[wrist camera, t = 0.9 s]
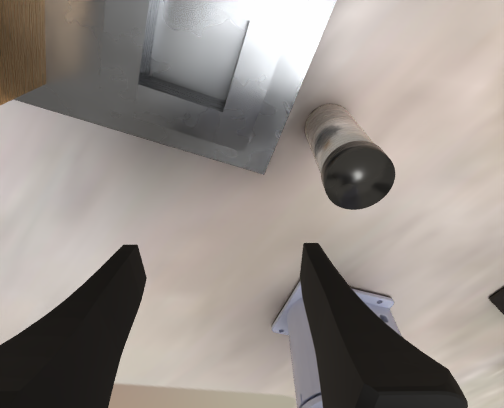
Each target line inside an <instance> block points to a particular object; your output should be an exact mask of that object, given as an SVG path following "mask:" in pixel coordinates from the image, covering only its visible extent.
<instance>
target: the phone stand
mask: <svg viewBox="0 0 504 408" xmlns="http://www.w3.org/2000/svg"><path fill="white" fill-rule="evenodd" d="M489 299H490V301H491V302H492V303H493V304H494V305H495V306H496V307H497V308H498V309H499V310H500V311H501V312H502V313H503V314H504V288H503V289H501V290H500V291H498V292H497V293H495V294H494V295H493V296H491V297H490V298H489Z"/></svg>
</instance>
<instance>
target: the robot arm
mask: <svg viewBox="0 0 504 408" xmlns="http://www.w3.org/2000/svg"><path fill="white" fill-rule="evenodd" d="M145 283H146V274H145V270H144V267H143V263H142V259H141V256H140V252H139V248H138V245H123V246H122V247H121V248H120V249H119V250H118V251H117V252H116V253H115V254H114V255H113V256H112V257H111V258H110V259H109V260H108V261H107V262H106V263H105V264H104V265H103V266H102V267H101V268H100V269H99V270H98V271H97V272H96V273H95V274H93V275H92V276H91V277H90V278H89V279H88V280H87V281H86V282H85V283H84V284H83V285H82V286H81V287H79V288H78V289H77V290H76V291H75V292H74V293H73V294H72V295H70V296H69V297H68V298H67V299H66V300H65V301H63V302H62V303H61V304H60V305H58V306H57V307H56V308H54V309H53V310H52V311H51V312H49V313H48V314H47V315H45V316H44V317H42V318H41V319H40V320H38V321H37V322H35V323H34V324H32V325H31V326H29V327H28V328H26V329H25V330H23V331H22V332H21V333H19V334H18V335H16V336H14V337H13V338H11V339H10V340H8V341H6V342H5V343H3V344H1V345H0V408H108V405H109V401H110V396H111V392H112V389H113V385H114V381H115V377H116V373H117V369H118V365H119V362H120V358H121V355H122V352H123V349H124V346H125V343H126V341H127V338H128V335H129V333H130V330H131V327H132V325H133V322H134V319H135V317H136V314H137V311H138V308H139V306H140V303H141V300H142V296H143V292H144V287H145ZM393 304H394V301H393V299H392V298H389V297H385V296H381V295H376V294H372V293H368V292H364V291H360V290H356V289H352V288H351V287H350V286H349V285H348V284H347V282H346V281H345V280H344V279H343V277H342V276H341V275H340V274H339V272H338V271H337V270H336V268H335V267H334V265H333V264H332V263H331V261H330V260H329V258H328V257H327V255H326V254H325V252H324V251H323V249H322V248H321V246H320V245H319V244H318V243H304V245H303V254H302V262H301V271H300V282H299V283H298V285H297V287H296V288H295V290H294V291H293V293H292V295H291V296H290V298H289V299H288V301H287V303H286V304H285V306H284V308H283V309H282V311H281V312H280V314H279V316H278V317H277V319H276V320H275V322H274V324H273V325H272V331H273V332H275V333H280V334H285V335H289V342H290V350H291V359H292V367H293V375H294V384H295V392H296V401H297V408H467V407H468V403H467V400H466V398H465V396H464V394H463V392H462V390H461V389H460V387H459V385H458V383H457V382H456V380H455V379H454V377H453V376H452V374H451V373H450V371H449V370H448V369H447V368H446V367H444V366H443V365H441V364H440V363H438V362H436V361H435V360H433V359H432V358H430V357H429V356H427V355H426V354H424V353H423V352H422V351H420V350H419V349H417V348H416V347H415V346H413V345H412V344H411V343H409V342H408V341H407V340H405V339H404V338H403V337H402V336H401V334H400V331H399V329H398V327H397V325H396V322H395V320H394V318H393V316H392V313H391V311H390V308H391V307H392V306H393Z"/></svg>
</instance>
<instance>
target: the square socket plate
mask: <svg viewBox="0 0 504 408" xmlns="http://www.w3.org/2000/svg"><path fill="white" fill-rule="evenodd" d="M335 3H336V0H0V105H2V104H4V103H6V102H8V101H11V100H13V99H14V100H18V101H21V102H24V103H28V104H31V105H34V106H38V107H41V108H44V109H48V110H51V111H54V112H58V113H61V114H64V115H68V116H71V117H74V118H78V119H81V120H84V121H88V122H91V123H94V124H97V125H101V126H104V127H107V128H111V129H114V130H117V131H121V132H124V133H127V134H131V135H134V136H137V137H141V138H144V139H147V140H151V141H154V142H157V143H161V144H164V145H167V146H171V147H174V148H177V149H181V150H184V151H187V152H191V153H194V154H197V155H201V156H204V157H207V158H210V159H214V160H217V161H220V162H224V163H227V164H230V165H234V166H237V167H240V168H244V169H247V170H250V171H254V172H257V173H260V174H264V173H265V171H266V169H267V166H268V164H269V161H270V159H271V157H272V154H273V152H274V149H275V147H276V145H277V142H278V140H279V137H280V135H281V133H282V130H283V128H284V125H285V123H286V121H287V118H288V116H289V113H290V111H291V109H292V106H293V104H294V101H295V99H296V97H297V94H298V92H299V89H300V87H301V85H302V82H303V80H304V77H305V75H306V73H307V70H308V68H309V65H310V63H311V61H312V58H313V56H314V53H315V51H316V49H317V46H318V44H319V41H320V39H321V36H322V34H323V32H324V29H325V27H326V24H327V22H328V20H329V17H330V15H331V12H332V10H333V8H334V5H335Z"/></svg>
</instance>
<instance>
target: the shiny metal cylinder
mask: <svg viewBox="0 0 504 408" xmlns="http://www.w3.org/2000/svg"><path fill="white" fill-rule="evenodd" d="M305 134H306V137H307V140H308V142H309V145H310V147H311V150H312V152H313V155H314V157H315V160H316V162H317V165H318V168H319V170H320V173H321V180H322V183H323V186H324V188H325V191H326V194H327V196H328V198H329V199H330V200H331V201H332V202H333V203H334V204H335V205H337V206H339V207H341V208H345V209H351V210H356V209H362V208H366V207H369V206H371V205H373V204H375V203H377V202H378V201H380V200H381V199H382V198H384V197H385V196H386V195H387V193H388V192H389V191H390V189H391V187H392V185H393V183H394V179H395V168H394V165H393V163H392V161H391V160H390V159H389V158H388V156H387V155H386V154H385V153H384V152H383V150H382V149H381V148H380V147H379V146H377V145H376V144H374V143H373V142H372V141H371V139H370V138H369V137H368V136H367V135H366V133H365V132H364V131H363V130H362V128H361V127H360V126H359V125H358V124H357V122H356V121H355V120H354V119H353V117H352V116H351V115H350V114H349V113H348V111H347V110H346V109H345V108H344V107H342V106H340V105H337V104H326V105H322V106H320V107H318V108H317V109H315V110H314V111H313V112H312V113H311V114H310V115H309V117H308V119H307V121H306V124H305Z"/></svg>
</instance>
